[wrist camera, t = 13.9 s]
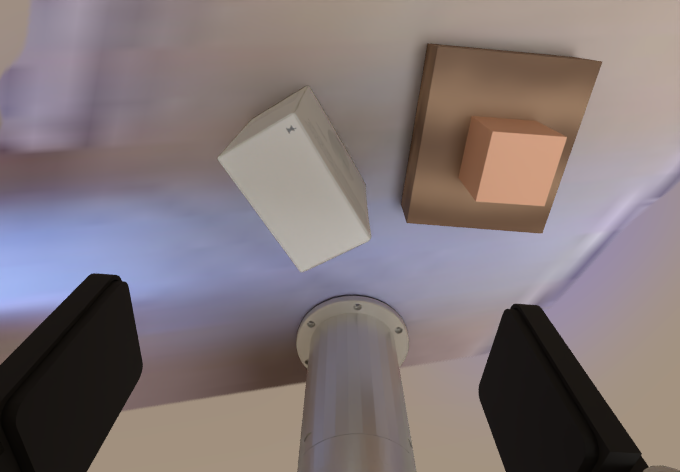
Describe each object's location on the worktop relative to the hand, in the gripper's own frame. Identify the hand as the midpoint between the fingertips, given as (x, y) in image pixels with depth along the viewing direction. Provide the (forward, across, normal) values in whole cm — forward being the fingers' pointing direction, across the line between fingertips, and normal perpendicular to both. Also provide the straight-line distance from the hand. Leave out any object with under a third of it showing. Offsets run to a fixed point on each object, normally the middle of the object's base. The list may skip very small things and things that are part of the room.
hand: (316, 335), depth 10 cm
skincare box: (+29, +2, +4) cm, 29 cm away
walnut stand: (+28, -13, +1) cm, 31 cm away
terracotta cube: (+24, -13, +1) cm, 28 cm away
